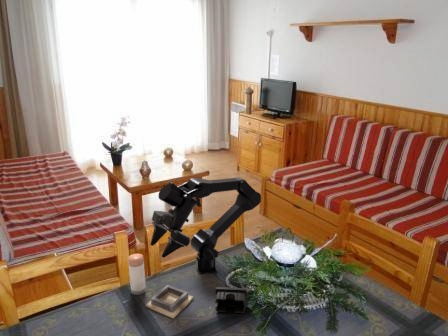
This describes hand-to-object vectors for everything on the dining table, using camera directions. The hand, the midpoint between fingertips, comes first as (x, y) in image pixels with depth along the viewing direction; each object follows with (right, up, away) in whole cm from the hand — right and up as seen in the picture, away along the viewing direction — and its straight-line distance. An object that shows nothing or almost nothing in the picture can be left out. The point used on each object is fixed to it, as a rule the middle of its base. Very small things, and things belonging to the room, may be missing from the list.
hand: (156, 251), depth 128 cm
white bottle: (-7, -14, +2) cm, 16 cm away
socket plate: (+5, -16, -4) cm, 17 cm away
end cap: (+25, -17, -6) cm, 31 cm away
